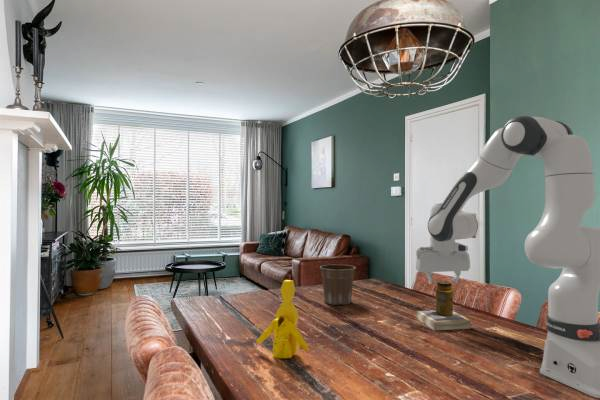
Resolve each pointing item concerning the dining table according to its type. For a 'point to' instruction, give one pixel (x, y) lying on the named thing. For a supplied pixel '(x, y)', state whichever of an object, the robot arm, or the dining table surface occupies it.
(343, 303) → the plant pot
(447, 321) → the base
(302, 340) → the figure statuette
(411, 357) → the dining table surface
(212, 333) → the dining table surface
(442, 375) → the dining table surface
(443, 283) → the condiment
